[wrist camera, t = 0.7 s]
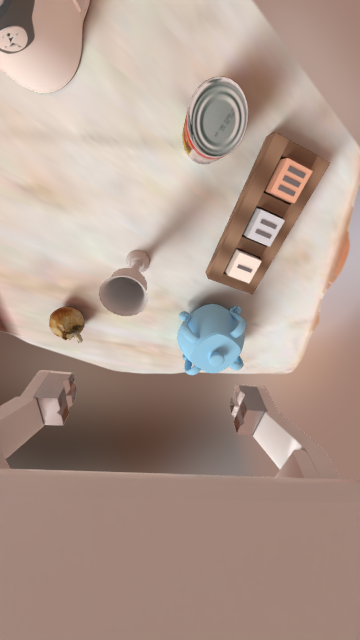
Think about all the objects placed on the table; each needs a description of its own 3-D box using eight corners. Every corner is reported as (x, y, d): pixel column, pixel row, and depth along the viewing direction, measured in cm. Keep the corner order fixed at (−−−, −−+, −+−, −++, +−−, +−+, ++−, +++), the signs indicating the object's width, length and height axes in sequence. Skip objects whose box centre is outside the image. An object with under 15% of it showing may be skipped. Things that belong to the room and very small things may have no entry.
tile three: (287, 202, 42) (295, 203, 39) (264, 191, 40) (270, 191, 38) (304, 171, 39) (313, 171, 37) (280, 159, 38) (288, 157, 36)
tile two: (264, 243, 45) (270, 247, 43) (243, 234, 44) (247, 237, 42) (278, 218, 43) (285, 220, 40) (256, 208, 42) (261, 209, 39)
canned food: (230, 106, 37) (253, 76, 27) (225, 164, 41) (243, 158, 31) (182, 105, 37) (187, 75, 26) (182, 164, 41) (186, 157, 30)
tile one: (245, 278, 49) (249, 283, 47) (225, 271, 48) (228, 275, 46) (257, 257, 47) (262, 261, 44) (236, 248, 46) (239, 252, 43)
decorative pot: (178, 297, 55) (179, 328, 43) (243, 298, 55) (262, 328, 44) (176, 350, 63) (178, 387, 52) (233, 350, 64) (247, 387, 52)
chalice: (156, 249, 48) (150, 280, 33) (152, 278, 52) (145, 319, 36) (122, 243, 47) (99, 271, 32) (120, 273, 51) (99, 312, 35)
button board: (247, 287, 54) (252, 294, 50) (205, 272, 51) (207, 278, 48) (317, 164, 41) (330, 162, 38) (266, 136, 39) (275, 132, 36)
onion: (84, 301, 54) (72, 318, 47) (91, 328, 58) (81, 348, 51) (52, 301, 54) (35, 318, 47) (61, 329, 58) (47, 348, 51)
